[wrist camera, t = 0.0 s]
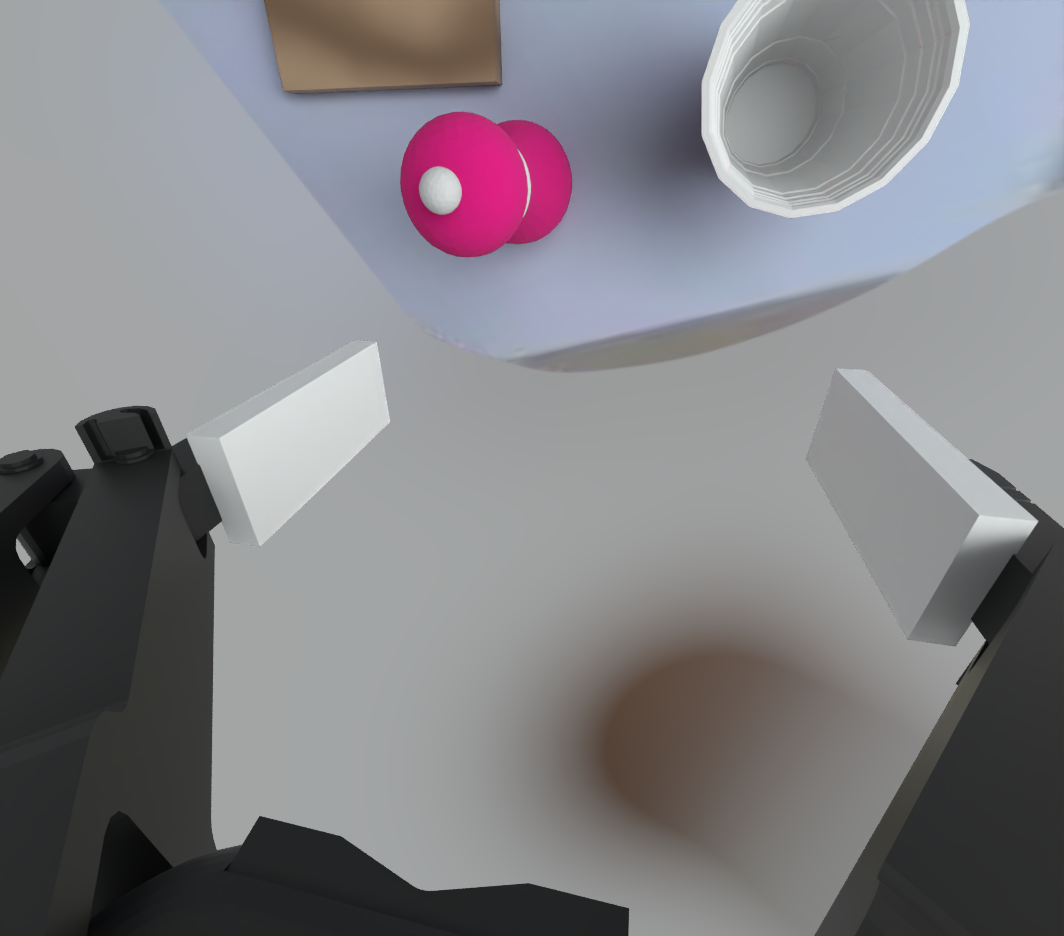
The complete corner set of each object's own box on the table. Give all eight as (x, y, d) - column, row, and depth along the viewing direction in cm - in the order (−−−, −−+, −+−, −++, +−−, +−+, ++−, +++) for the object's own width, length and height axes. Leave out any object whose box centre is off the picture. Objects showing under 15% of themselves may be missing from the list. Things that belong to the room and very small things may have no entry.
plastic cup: (897, -2, 28) (1036, -100, 18) (830, 210, 34) (908, 224, 24) (703, 0, 30) (732, -90, 20) (670, 201, 35) (679, 212, 25)
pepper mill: (510, 253, 39) (409, 310, 23) (468, 158, 37) (315, 142, 20) (593, 210, 37) (549, 239, 20) (554, 104, 34) (464, 33, 17)
